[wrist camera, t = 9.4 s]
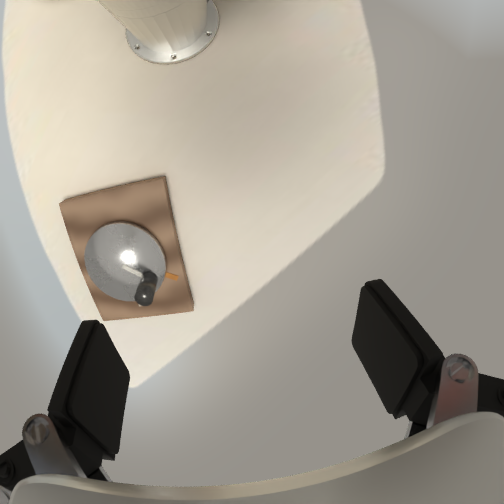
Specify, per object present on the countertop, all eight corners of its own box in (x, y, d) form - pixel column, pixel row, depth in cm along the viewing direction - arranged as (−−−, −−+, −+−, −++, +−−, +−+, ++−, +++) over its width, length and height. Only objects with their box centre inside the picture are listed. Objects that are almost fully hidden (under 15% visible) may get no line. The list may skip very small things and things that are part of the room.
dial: (78, 274, 39) (64, 296, 34) (102, 205, 35) (86, 221, 30) (147, 308, 44) (141, 334, 38) (181, 246, 40) (177, 268, 34)
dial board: (64, 199, 36) (58, 204, 34) (165, 176, 37) (162, 179, 35) (106, 314, 46) (103, 321, 44) (193, 303, 47) (193, 311, 46)
